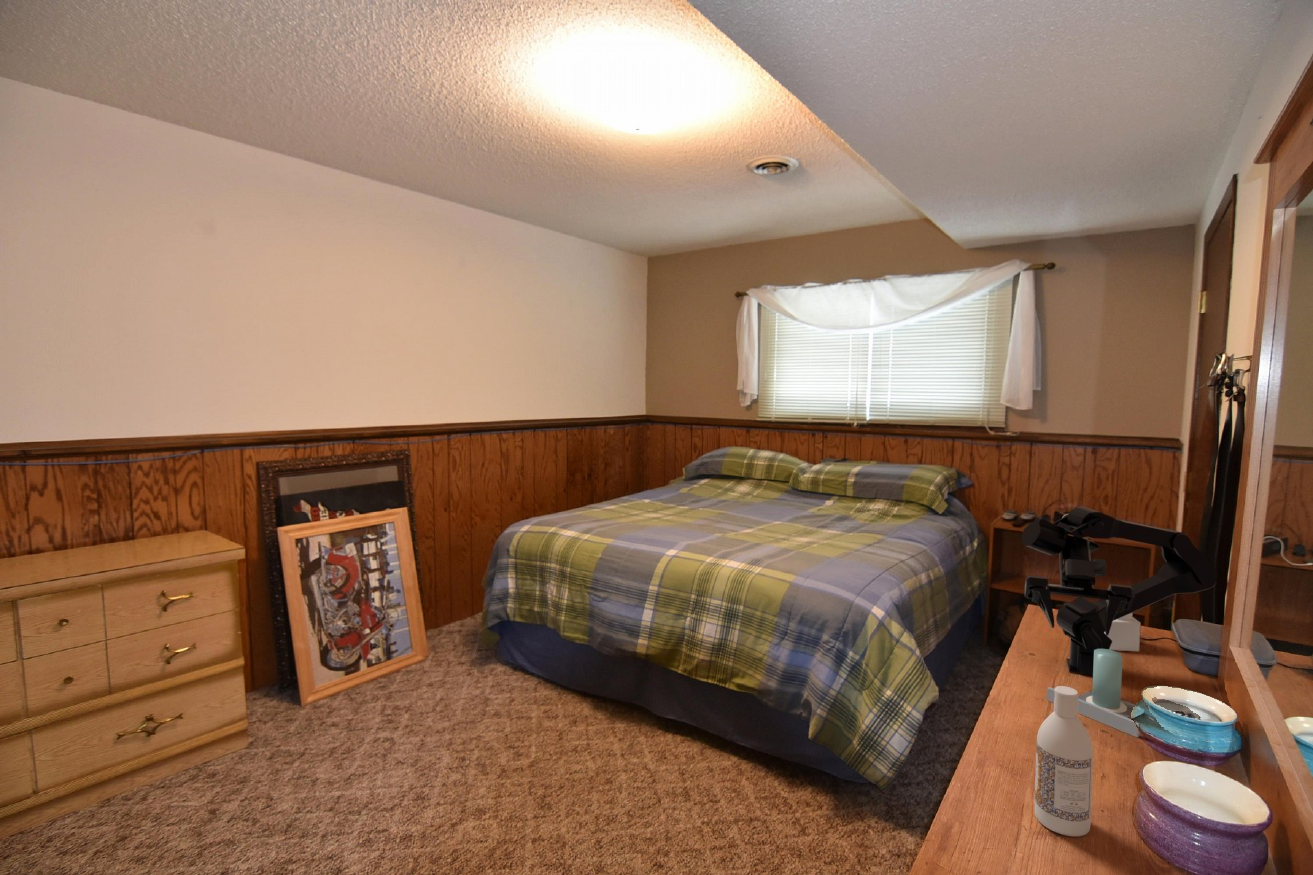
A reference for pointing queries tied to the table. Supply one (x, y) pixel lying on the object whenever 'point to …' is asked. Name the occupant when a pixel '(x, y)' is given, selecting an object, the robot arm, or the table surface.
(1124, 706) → the mat
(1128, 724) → the low wall
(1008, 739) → the table surface
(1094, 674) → the teal canister
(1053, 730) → the bath foam
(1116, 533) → the robot arm
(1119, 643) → the medicine bottle
